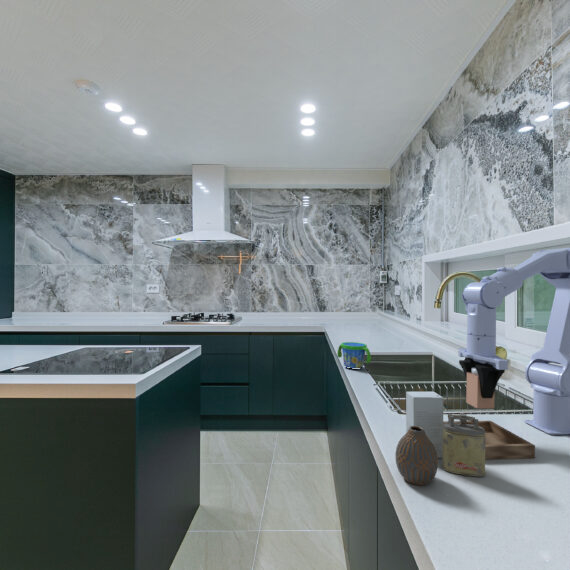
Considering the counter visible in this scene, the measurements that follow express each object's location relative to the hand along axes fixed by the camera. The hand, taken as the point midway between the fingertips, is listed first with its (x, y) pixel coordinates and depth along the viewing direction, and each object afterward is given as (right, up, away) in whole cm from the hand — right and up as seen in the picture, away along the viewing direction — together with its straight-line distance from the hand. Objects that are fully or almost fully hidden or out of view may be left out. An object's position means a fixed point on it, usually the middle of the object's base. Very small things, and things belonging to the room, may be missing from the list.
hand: (480, 394), depth 79 cm
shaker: (0, -2, 0) cm, 2 cm away
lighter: (-12, -9, -16) cm, 22 cm away
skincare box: (-16, -9, -9) cm, 21 cm away
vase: (-22, -9, -18) cm, 30 cm away
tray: (-2, -9, -4) cm, 10 cm away
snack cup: (-16, -10, +67) cm, 70 cm away
